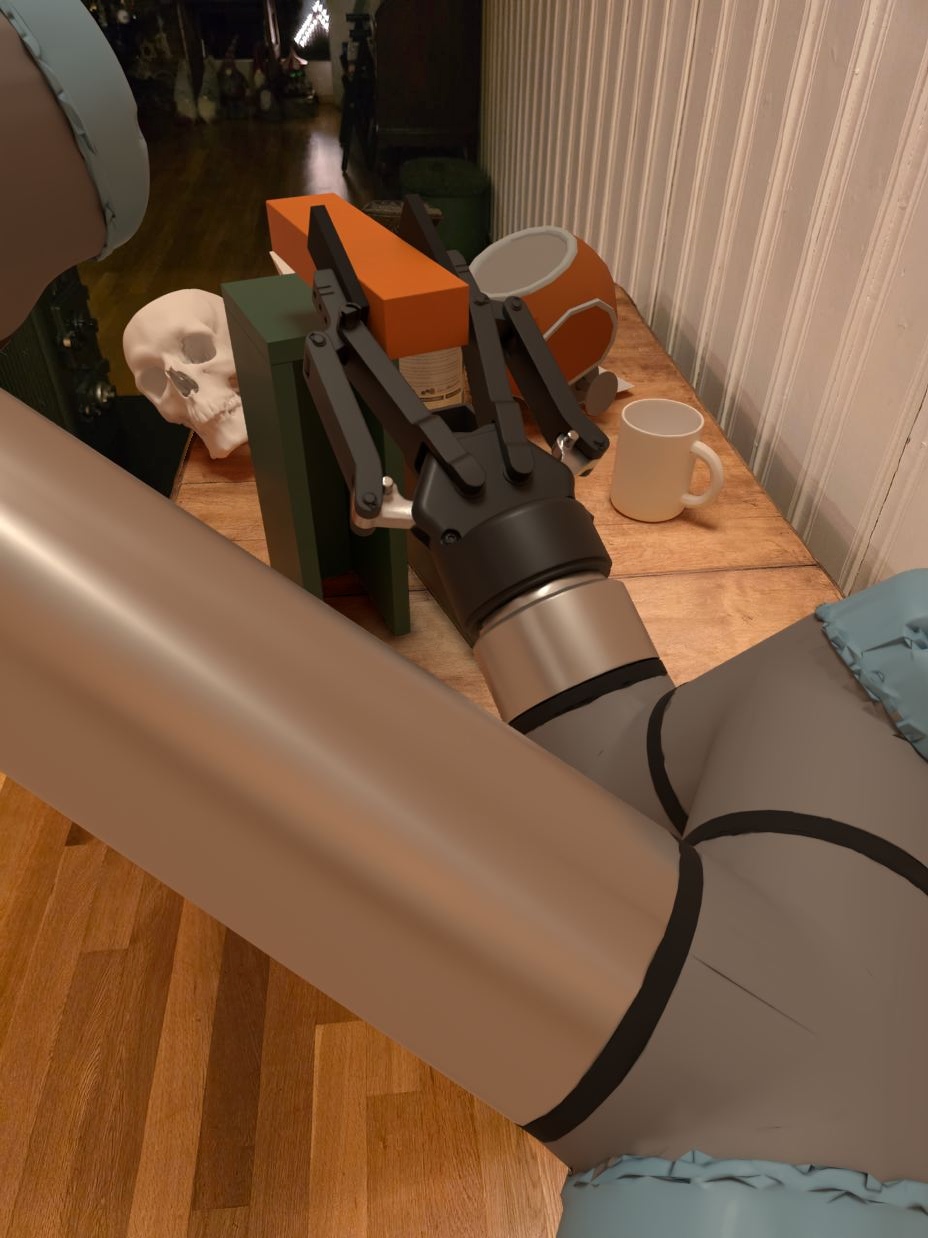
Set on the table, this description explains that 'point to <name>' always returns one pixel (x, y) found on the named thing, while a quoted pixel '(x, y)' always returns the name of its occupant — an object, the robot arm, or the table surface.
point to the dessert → (621, 383)
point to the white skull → (188, 366)
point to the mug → (661, 461)
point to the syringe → (596, 390)
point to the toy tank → (395, 213)
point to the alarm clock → (555, 293)
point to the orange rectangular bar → (380, 276)
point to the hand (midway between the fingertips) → (362, 221)
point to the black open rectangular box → (417, 554)
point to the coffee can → (436, 376)
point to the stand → (307, 452)
